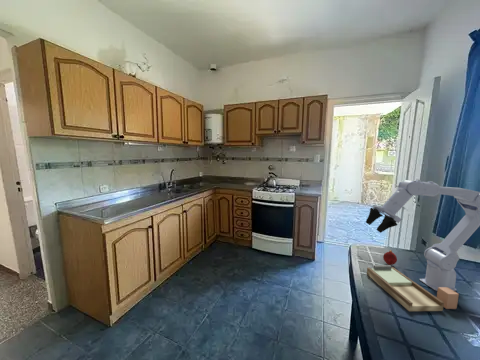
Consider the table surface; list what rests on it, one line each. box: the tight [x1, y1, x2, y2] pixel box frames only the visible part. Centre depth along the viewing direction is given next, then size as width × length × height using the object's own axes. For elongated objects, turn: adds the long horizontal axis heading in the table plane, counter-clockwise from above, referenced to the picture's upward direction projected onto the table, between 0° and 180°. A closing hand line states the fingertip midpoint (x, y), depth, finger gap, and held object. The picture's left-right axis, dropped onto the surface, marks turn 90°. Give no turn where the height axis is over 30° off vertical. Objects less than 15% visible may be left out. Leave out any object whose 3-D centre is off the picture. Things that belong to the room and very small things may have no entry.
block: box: [436, 287, 460, 310], centre depth 80 cm, size 4×4×6 cm
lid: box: [371, 264, 412, 285], centre depth 94 cm, size 10×11×3 cm
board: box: [366, 266, 444, 312], centre depth 89 cm, size 13×24×3 cm, turn 3°
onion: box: [382, 249, 398, 266], centre depth 109 cm, size 6×6×8 cm
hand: (372, 227), depth 93 cm, fingers open, 7 cm apart
